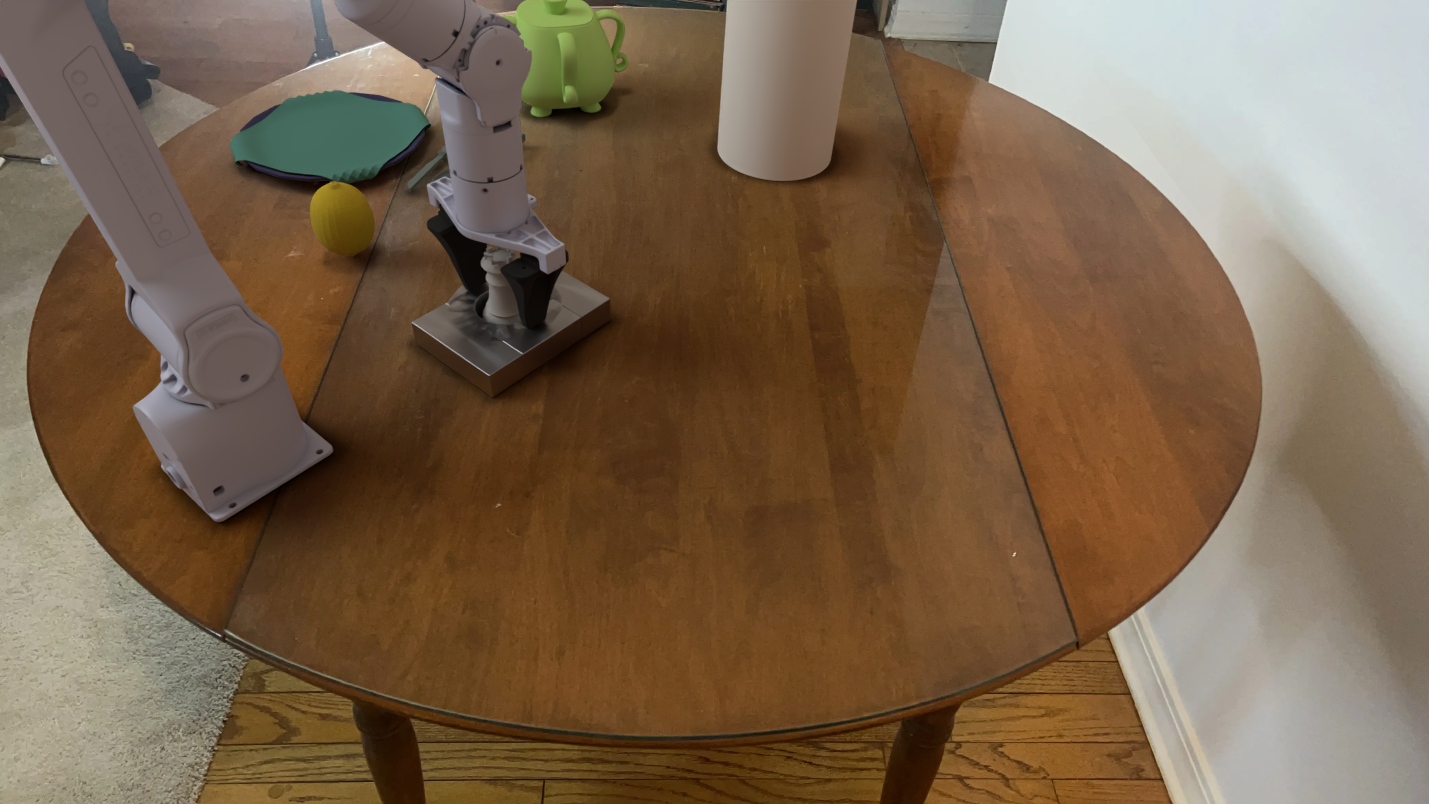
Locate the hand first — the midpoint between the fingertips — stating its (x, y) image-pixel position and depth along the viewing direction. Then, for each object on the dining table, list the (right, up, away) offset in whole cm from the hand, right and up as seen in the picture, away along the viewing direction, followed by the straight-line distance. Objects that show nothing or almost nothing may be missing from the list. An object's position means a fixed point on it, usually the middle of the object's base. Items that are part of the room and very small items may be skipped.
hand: (505, 303), depth 79 cm
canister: (+25, +21, +28) cm, 43 cm away
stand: (+1, -2, +1) cm, 3 cm away
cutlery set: (-19, +19, +22) cm, 35 cm away
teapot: (-1, +30, +35) cm, 46 cm away
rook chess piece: (0, -2, +2) cm, 3 cm away
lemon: (-17, +5, +8) cm, 19 cm away
